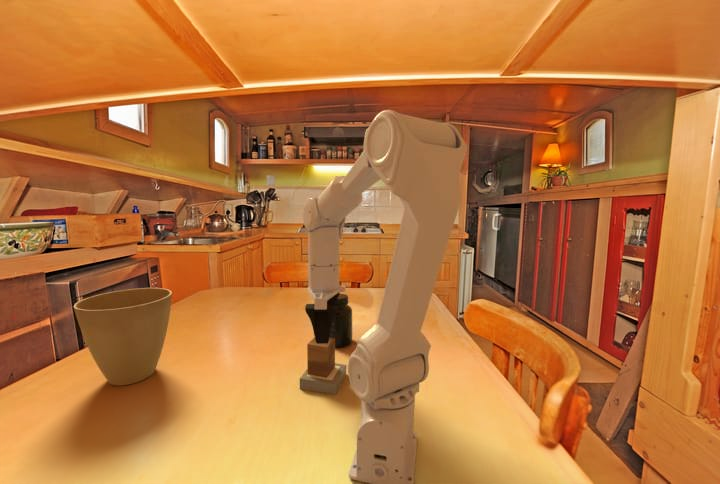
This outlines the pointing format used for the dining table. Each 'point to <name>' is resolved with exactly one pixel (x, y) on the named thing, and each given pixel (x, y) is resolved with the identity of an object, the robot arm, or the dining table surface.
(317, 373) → the walnut block
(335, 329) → the supplement bottle
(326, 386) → the base tile
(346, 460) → the dining table surface
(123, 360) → the plant pot
